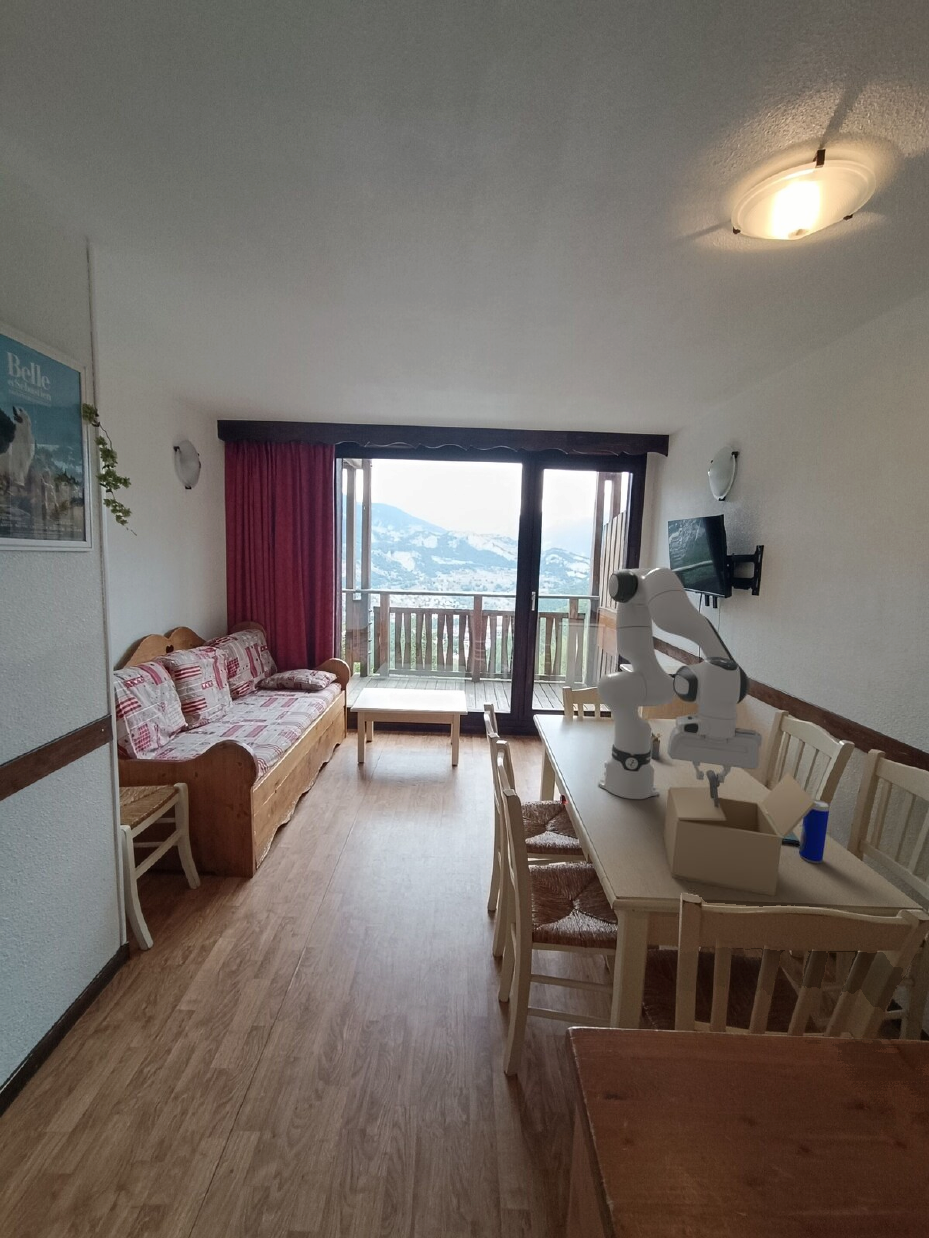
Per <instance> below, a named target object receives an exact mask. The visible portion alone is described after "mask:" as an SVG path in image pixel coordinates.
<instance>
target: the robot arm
mask: <svg viewBox="0 0 929 1238" xmlns="http://www.w3.org/2000/svg"><path fill="white" fill-rule="evenodd" d="M607 585H608V595H609V596H610V598H611V599H612V600H613V601H614V602H617V610H616V618H615V619H616V622H615V623H616V624H615V625H616V628H615V629H616V648H617V649H616V650H617V652H618V655H620V657H621V658H623V659H625V660H626V661H628V662H629V663H630V666H631V667H632V670H633V671H615V672H610V673H606V674H605V673H604V675H602V676H601V677H600V679H599V680H598V682H597V689H596V690H597V691H596V692H597V695H598V697H599V699H600V701H601V702H602V703H603V705H605V706H607V708H608V709H609V710H610V712H611V714H612V717H613V721H614V739H613V740H614V741H613V744H612V747H611V757H610V759H608V760H605V761H604V768H605V770H604V772H603V774H602V775H601V777H600V779H599V780H598V784H597V786H598V787H600V788H603V789H604V790H606V791H608V792H610V793H611V794H612V795H615V796H618V797H621V798H624V799H625V798H626V799H629V800H644V799H648V798H649V797H652V796H653V797H654V796H659V795H660V794H659V793H660V791H659V789H658V788H657V786H656V785H655V784H654V781H655V768H654V767H653V765H652V764H651V759H652V758H651V750H650V742H651V736H652V727H651V725H650V723H649V722H648V721H647V720H646V719H644V718H643V717H642V716H640V715H639V707H660V706H663V705H667V704H671V703H672V702H673V701H674V700H675V698H676V696H677V697H678V698H679V699H680V700H682V701H684V702H687V703H693V704H697V708H696V713H692V714H691V713H690V714H686V715H680V716H676V718H675V727H673V729H672V730H671V731H670V735H669V737H668V738H669V739H668V744H667V755H668V756H669V758H670V759H671V760H678V761H683V762H684V761H685V762H692V765H693V768H694V769H695V772H696V773H695V778H696V780H701V781H703V780H704V776H705V773H704V771H702V770H700V769H699V767H701V764H709V765H716V766H717V765H718V766H722V770H721V772H720V773H719V772H716V774H715V775H716V777H717V778H718V780H719V782H720V784H725V778H726V776H727V775H728V774H729V773H730V772H731V770H732V768H740V769H747V770H754V771H755V770H757V769H758V768H759V767H760V748H761V746H762V743H763V735H762V734H761V733H760V732H758V731H757V730H755V729H746V728H741V727H737V722H738V721H737V719H738V713H737V705H738V704H740V703H741V702H742V701H743V700H744V699H745V698H746V696H747V695H748V693H749V691H750V686H751V684H750V679H749V676H748V675H747V673H746V671H745V670H744V669H743V667H741V666H740V665H739V664H738V662H737V661H736V660H735V659H734V657H733V655H732V653H731V652H730V650H729V649H728V647H727V646H726V644H725V642H724V641H723V639H722V637H721V635H720V634H719V632H718V631H717V629H716V628H715V626H714V625H713V623H712V622H711V621H710V619H709V618H707V616H705V615H703V614H702V613H701V612H700V611H699V610H698V609H697V607H696V606H694V604H693V603H692V601H691V599H690V598H689V596H688V593H687V592H686V590H685V587H684V585H683V583H682V580H681V577H680V575H679V573H678V572H677V571H674V570H673V569H671V568H668V567H656V568H653V567H644V568H641V567H640V568H631V569H630V568H621V569H617V570H615V571H614V572H613V573H612V574H611V575H610V577H609V579H608V584H607ZM653 623H654V624H655V626H656V627H657V628H658V629H660V630H661V631H663V632H666V633H669V634H671V635H675V636H679V637H682V638H685V639H687V640H689V641H691V642H693V643H694V644H696V645H697V646H698V647H699V648H700V650H701V651H702V653H703V654H704V656H705V658H704V659H703V661H701V662H699V663H695V664H688V665H687V664H685V665H682V666H680V667H679V668H678V669H677V670H676V672H675V674H674V676H673V677H672V676H671V675H670V674H668V672H666V671H665V670H664V668H663V667H662V666H661V664H660V662H659V660H658V658H657V655H656V653H655V646H654V634H653V633H654V632H653Z"/></svg>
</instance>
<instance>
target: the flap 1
mask: <svg viewBox="0 0 929 1238" xmlns="http://www.w3.org/2000/svg"><path fill="white" fill-rule="evenodd" d="M705 775H706V778H707V779H708V784H709V787H708V786H707V787H705V786H704V787H703V786H702V787H700V786H697V787H693V786H692V787H691V786H690V787H689V786H688V787H681V786H679V787H678V786H675V787H673V786H672V787H669V789H670V793H671V796H672V800H673V803H674V807H675V810H676V814H677V817H678V820H722V821H726V818H725V816H724V813H723V811H722V809H721V807H720V805H719V803H718V797H719V793H718V790H719V789H718V788H719V787H720V786H721V785H720V784H721V783H720V782H719V780H718V778H717V776H716V775H717V774H716V773H715V771H714V770H712V769H709V770H707V771H706V773H705Z"/></svg>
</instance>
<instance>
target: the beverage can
mask: <svg viewBox="0 0 929 1238" xmlns="http://www.w3.org/2000/svg"><path fill="white" fill-rule="evenodd" d="M812 800H813V801H814V802H815V803H816V805H815V806H814V807H813V808H812V809H811V810H810V811H809V813H808V814H807V815H806V816H805V817H804V818H803V819H802V825H801V834H800V840H799V841H800V846H798V847H799V848H798V849H799V850H798V854H799V857H800V858H801V859H802V860H803V861H806V862H808V863H812V864H819V863H821V862H823V858H824V852H825V844H826V837H827V829H828V822H829V815H830V806H829V804H828V803H827V802H825V801H823V800H820V799H817V798H812Z"/></svg>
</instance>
